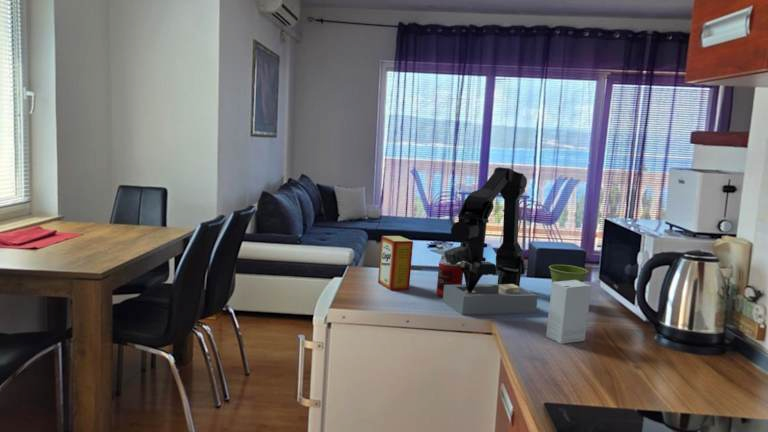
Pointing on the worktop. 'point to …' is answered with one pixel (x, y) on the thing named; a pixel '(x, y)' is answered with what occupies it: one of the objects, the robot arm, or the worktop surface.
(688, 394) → the worktop surface
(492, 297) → the pocket board
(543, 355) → the worktop surface
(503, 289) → the beige block
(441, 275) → the canned food
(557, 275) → the plant pot
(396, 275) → the baking soda box
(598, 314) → the worktop surface
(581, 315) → the skincare box
